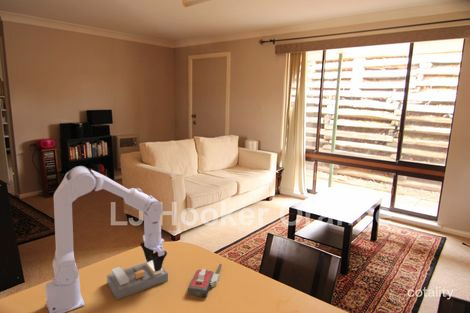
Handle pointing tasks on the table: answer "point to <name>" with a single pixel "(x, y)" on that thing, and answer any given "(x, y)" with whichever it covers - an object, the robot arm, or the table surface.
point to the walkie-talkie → (203, 282)
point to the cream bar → (151, 267)
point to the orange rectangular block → (139, 274)
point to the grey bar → (120, 275)
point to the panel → (135, 281)
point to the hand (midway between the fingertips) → (153, 265)
